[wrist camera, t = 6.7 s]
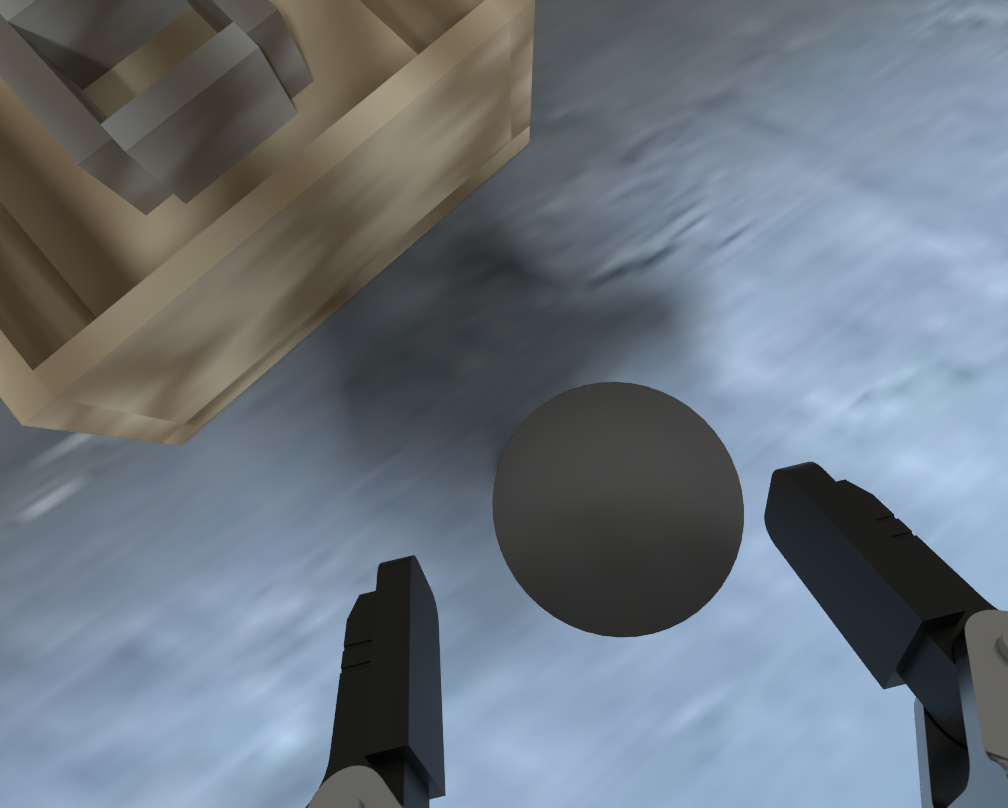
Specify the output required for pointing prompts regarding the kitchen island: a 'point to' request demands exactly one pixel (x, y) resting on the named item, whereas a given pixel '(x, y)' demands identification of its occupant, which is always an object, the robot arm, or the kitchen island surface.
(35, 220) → the walled box
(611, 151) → the kitchen island surface
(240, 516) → the kitchen island surface
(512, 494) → the grey and orange cylinder
